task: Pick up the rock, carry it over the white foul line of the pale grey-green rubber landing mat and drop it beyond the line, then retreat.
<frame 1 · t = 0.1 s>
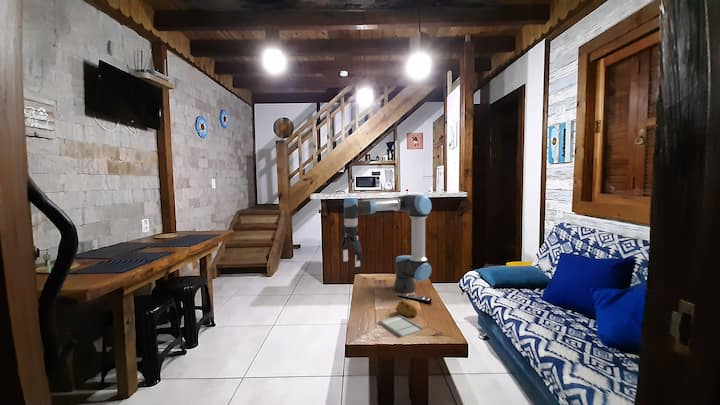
hand: (351, 263, 171), 28 cm above the table, fingers open, 13 cm apart
landing mat: (400, 326, 155), on the table
rock: (406, 315, 169), on the table
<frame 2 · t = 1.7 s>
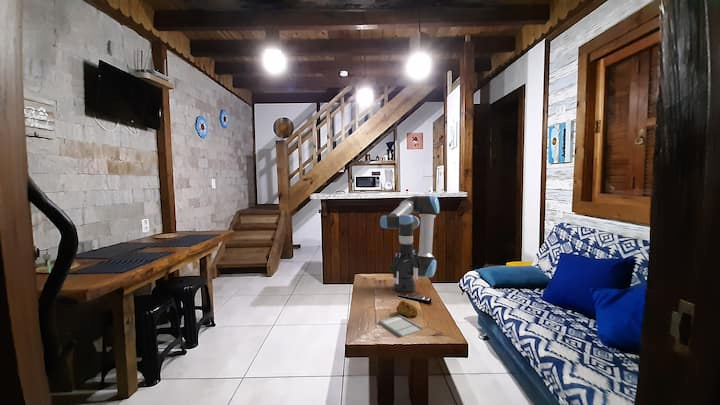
hand: (406, 281, 168), 19 cm above the table, fingers open, 13 cm apart
nothing on the table moved.
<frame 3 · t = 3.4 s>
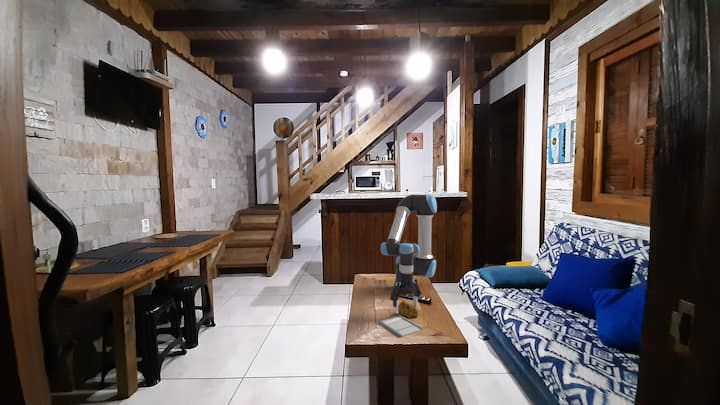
hand: (405, 310, 168), 3 cm above the table, fingers open, 13 cm apart
rock: (407, 315, 169), on the table, touching gripper
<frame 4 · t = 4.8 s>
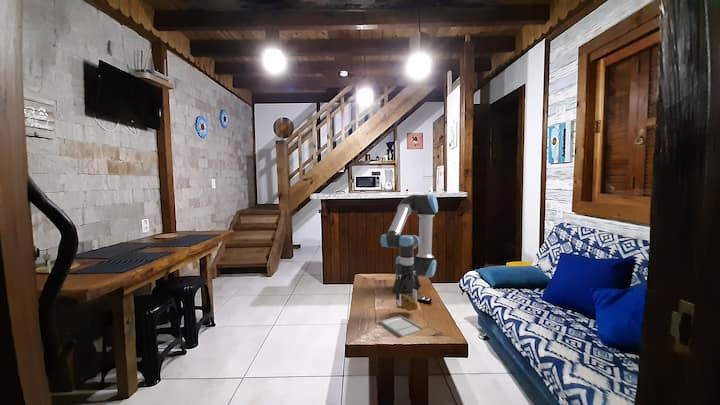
hand: (407, 302, 169), 6 cm above the table, fingers closed on rock, 11 cm apart
rock: (407, 309, 169), point 3 cm above the table, touching gripper
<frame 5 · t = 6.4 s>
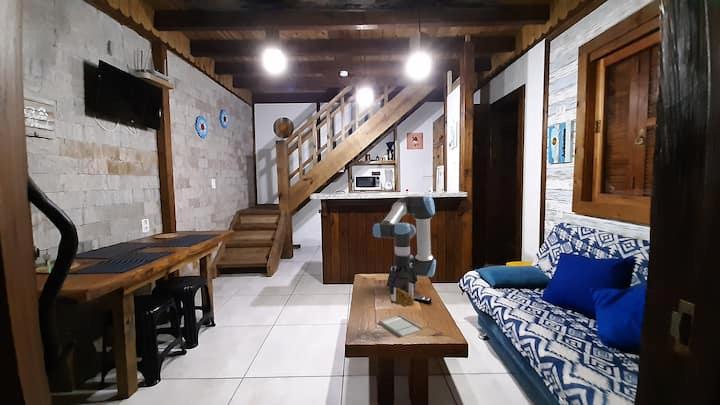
hand: (402, 298, 153), 15 cm above the table, fingers closed on rock, 11 cm apart
rock: (402, 304, 152), point 12 cm above the table, touching gripper
when the fingers open (4 cm above the table, at t = 8.1 s): rock stays where it is, resting on landing mat.
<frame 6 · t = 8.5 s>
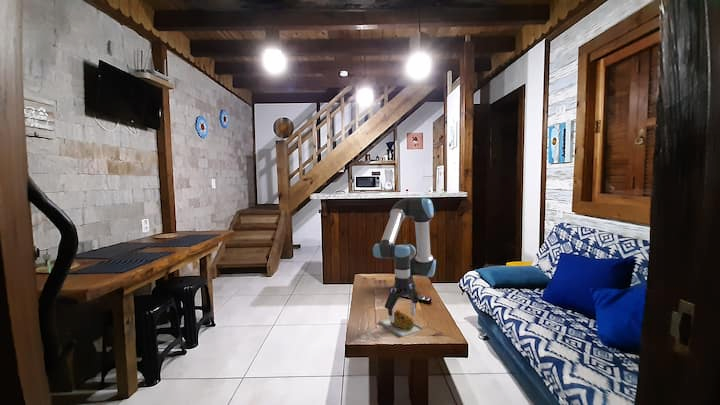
hand: (402, 318, 153), 5 cm above the table, fingers open, 13 cm apart
rock: (402, 327, 153), resting on landing mat
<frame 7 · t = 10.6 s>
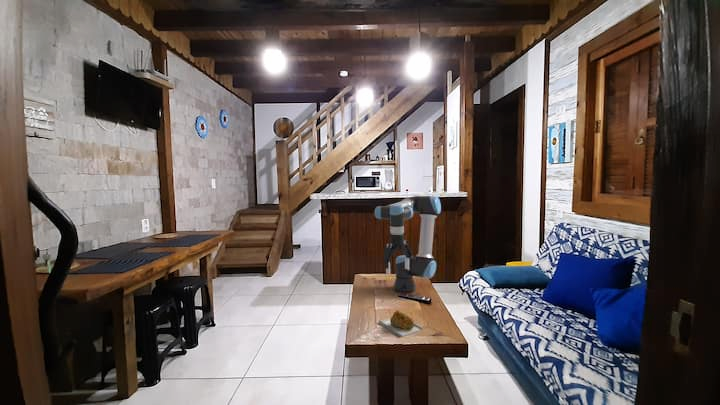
hand: (397, 271, 169), 24 cm above the table, fingers open, 13 cm apart
nothing on the table moved.
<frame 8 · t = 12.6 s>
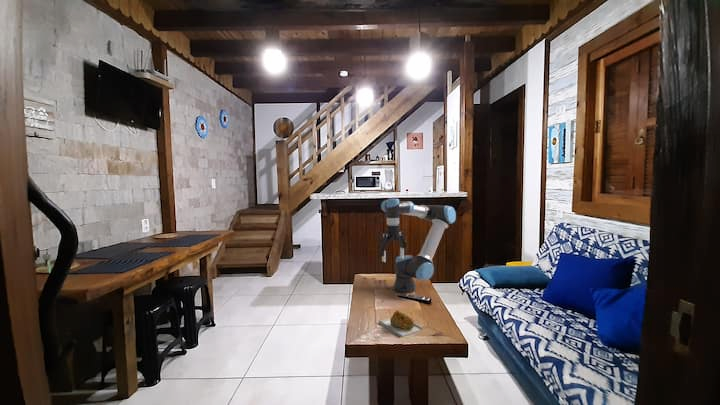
hand: (393, 260, 183), 27 cm above the table, fingers open, 13 cm apart
nothing on the table moved.
at the end: rock inside the target area (2.7 cm from its centre), point 0.5 cm above the table; the gripper is holding nothing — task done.
